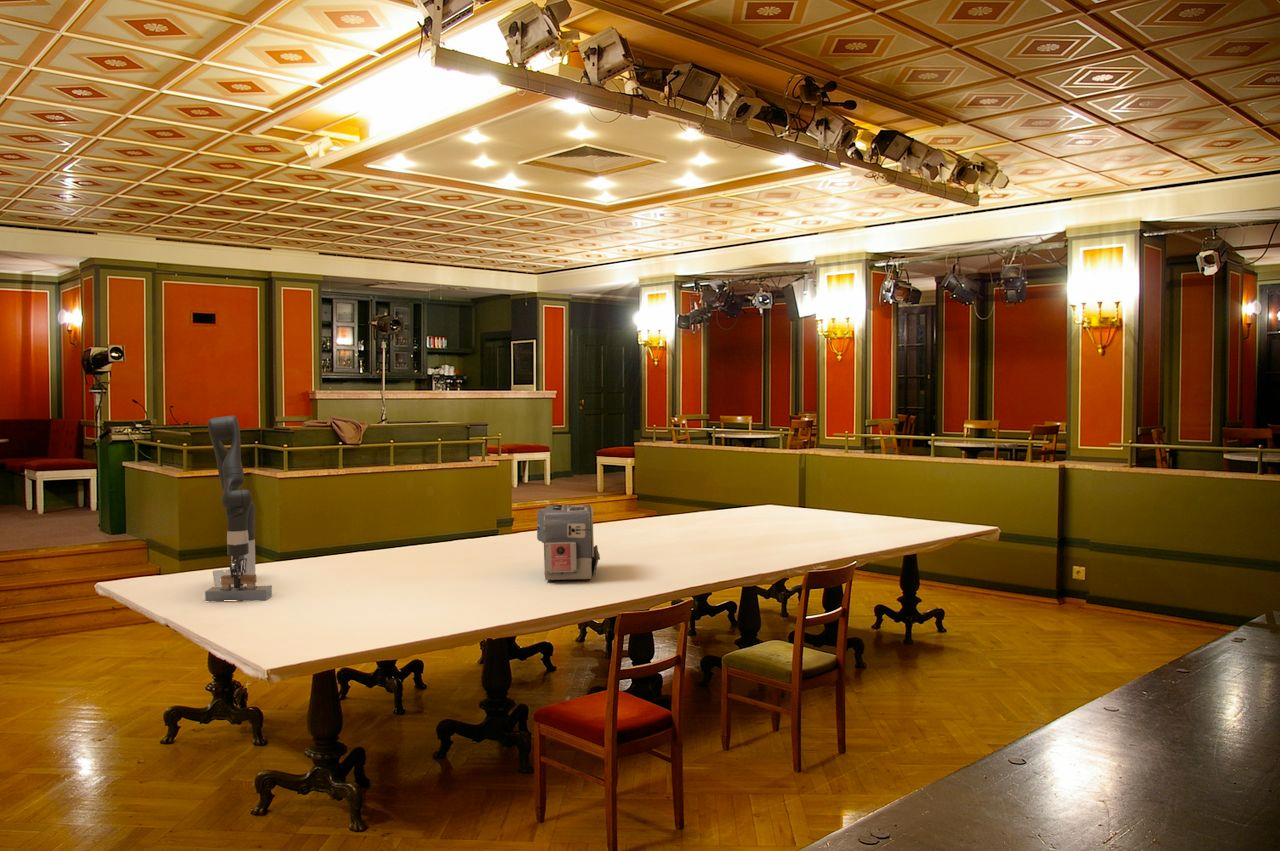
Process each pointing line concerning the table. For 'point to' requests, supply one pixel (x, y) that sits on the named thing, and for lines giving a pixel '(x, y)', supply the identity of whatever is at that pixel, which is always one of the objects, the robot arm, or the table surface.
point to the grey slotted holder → (238, 593)
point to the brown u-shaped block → (244, 579)
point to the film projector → (567, 542)
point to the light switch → (217, 577)
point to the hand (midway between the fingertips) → (238, 586)
